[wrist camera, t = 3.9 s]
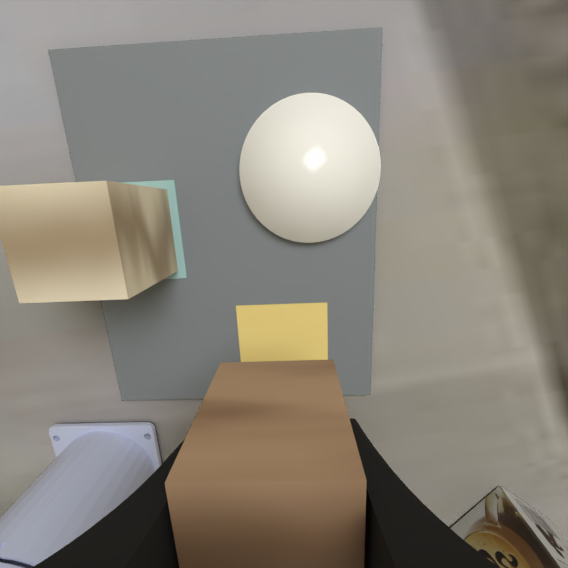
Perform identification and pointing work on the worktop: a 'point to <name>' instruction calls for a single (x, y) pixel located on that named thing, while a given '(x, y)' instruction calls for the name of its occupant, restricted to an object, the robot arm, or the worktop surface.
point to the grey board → (223, 204)
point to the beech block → (86, 240)
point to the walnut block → (270, 472)
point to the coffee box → (512, 533)
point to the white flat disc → (310, 167)
